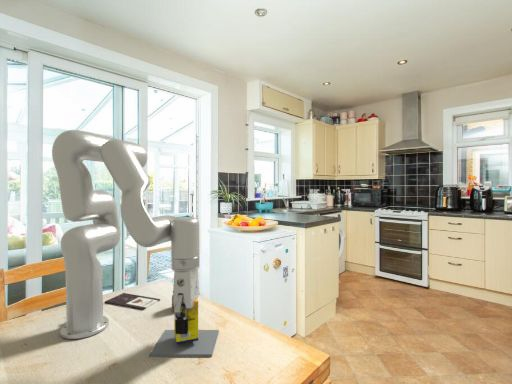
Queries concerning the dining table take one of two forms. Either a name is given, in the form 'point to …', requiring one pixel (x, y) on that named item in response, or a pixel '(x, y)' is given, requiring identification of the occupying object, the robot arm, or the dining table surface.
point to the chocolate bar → (132, 301)
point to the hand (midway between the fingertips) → (185, 325)
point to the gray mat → (186, 345)
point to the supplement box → (189, 325)
